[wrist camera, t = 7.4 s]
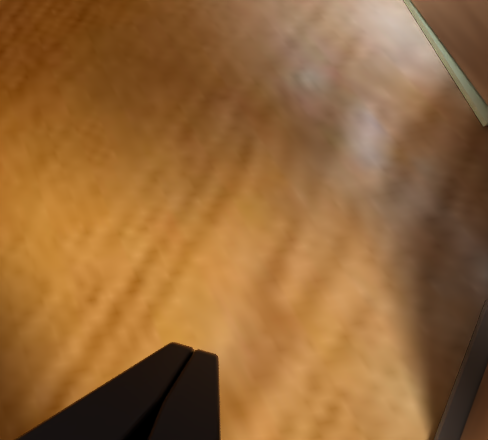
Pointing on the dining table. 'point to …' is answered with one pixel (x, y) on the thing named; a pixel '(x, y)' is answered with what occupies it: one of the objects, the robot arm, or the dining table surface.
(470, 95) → the seat pad
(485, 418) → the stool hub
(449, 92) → the dining table surface
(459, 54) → the hinged leg
